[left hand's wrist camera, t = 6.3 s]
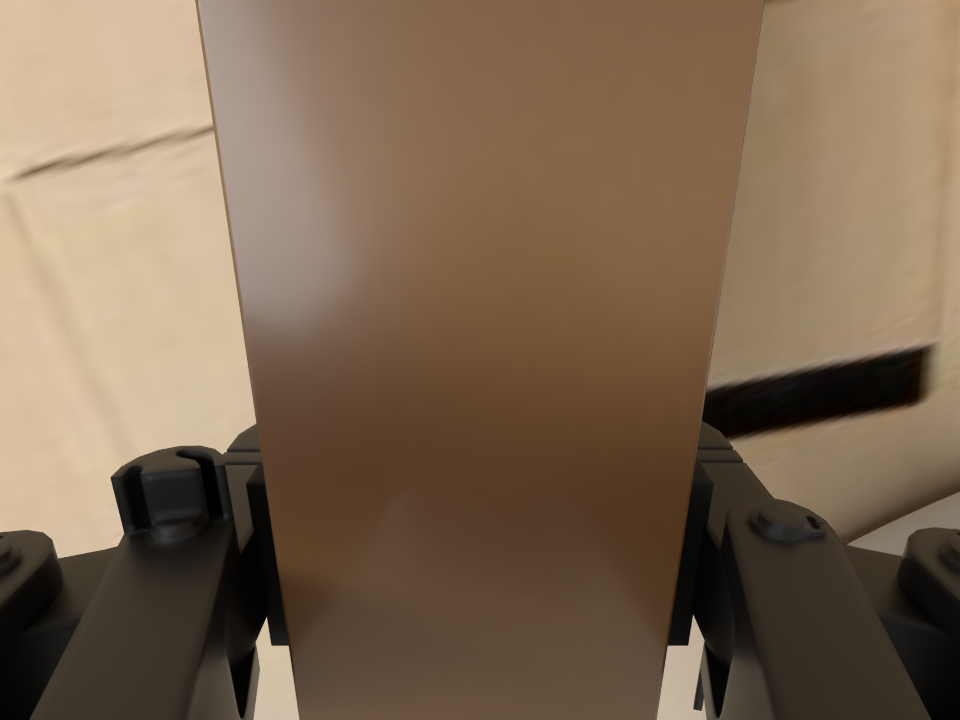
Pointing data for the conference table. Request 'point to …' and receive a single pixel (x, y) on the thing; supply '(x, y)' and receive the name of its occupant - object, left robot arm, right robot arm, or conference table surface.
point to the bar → (479, 332)
